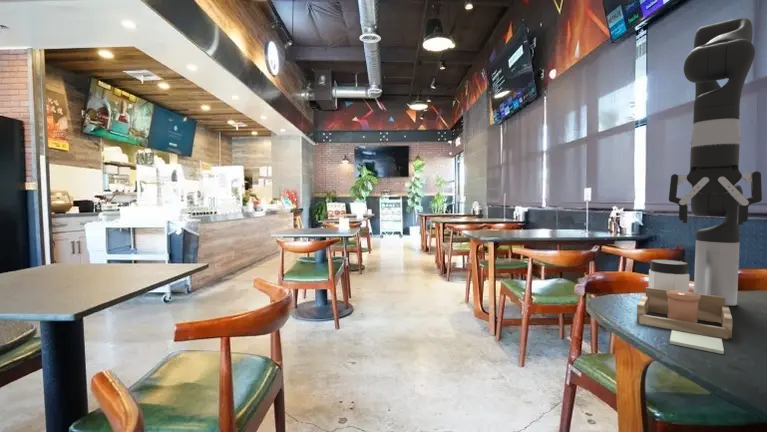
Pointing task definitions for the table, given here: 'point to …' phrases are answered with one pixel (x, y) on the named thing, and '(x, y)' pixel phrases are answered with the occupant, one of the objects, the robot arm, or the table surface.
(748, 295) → the table surface
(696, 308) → the pot
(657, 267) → the jar
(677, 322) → the wooden tray
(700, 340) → the pad
